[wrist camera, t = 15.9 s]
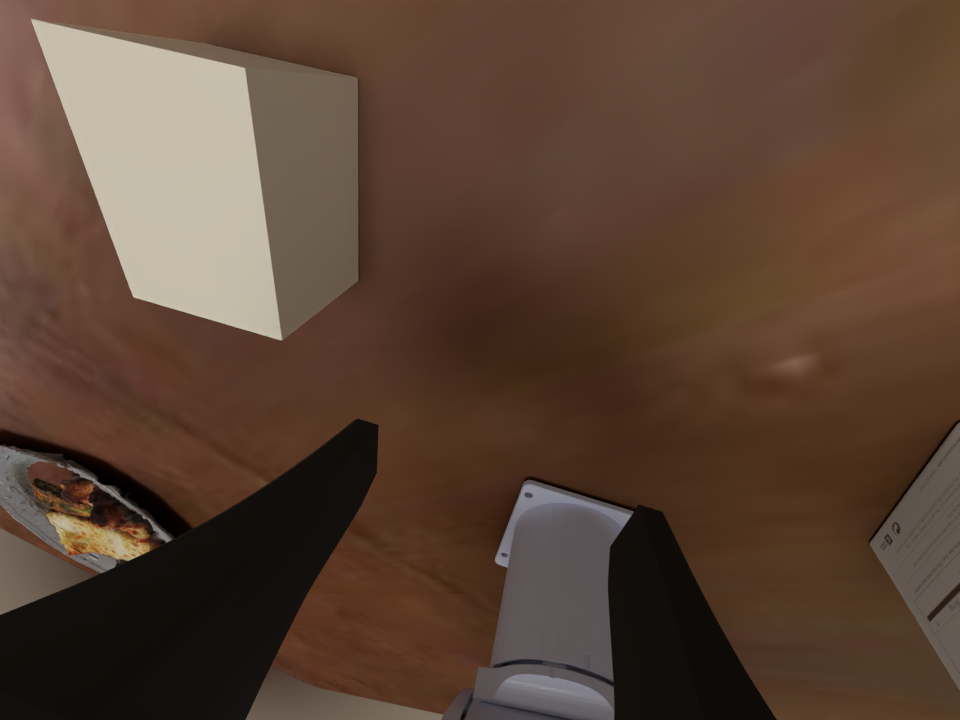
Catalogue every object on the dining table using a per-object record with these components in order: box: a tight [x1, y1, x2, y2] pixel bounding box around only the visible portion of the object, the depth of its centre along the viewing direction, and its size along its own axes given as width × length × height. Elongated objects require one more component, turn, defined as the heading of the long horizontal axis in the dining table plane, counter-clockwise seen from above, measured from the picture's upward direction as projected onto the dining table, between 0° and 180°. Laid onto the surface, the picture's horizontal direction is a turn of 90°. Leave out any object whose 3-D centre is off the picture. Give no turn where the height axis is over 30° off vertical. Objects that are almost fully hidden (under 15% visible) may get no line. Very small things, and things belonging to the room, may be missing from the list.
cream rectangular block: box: [31, 19, 358, 340], centre depth 15 cm, size 8×6×6 cm
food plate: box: [0, 445, 175, 573], centre depth 42 cm, size 25×23×4 cm
